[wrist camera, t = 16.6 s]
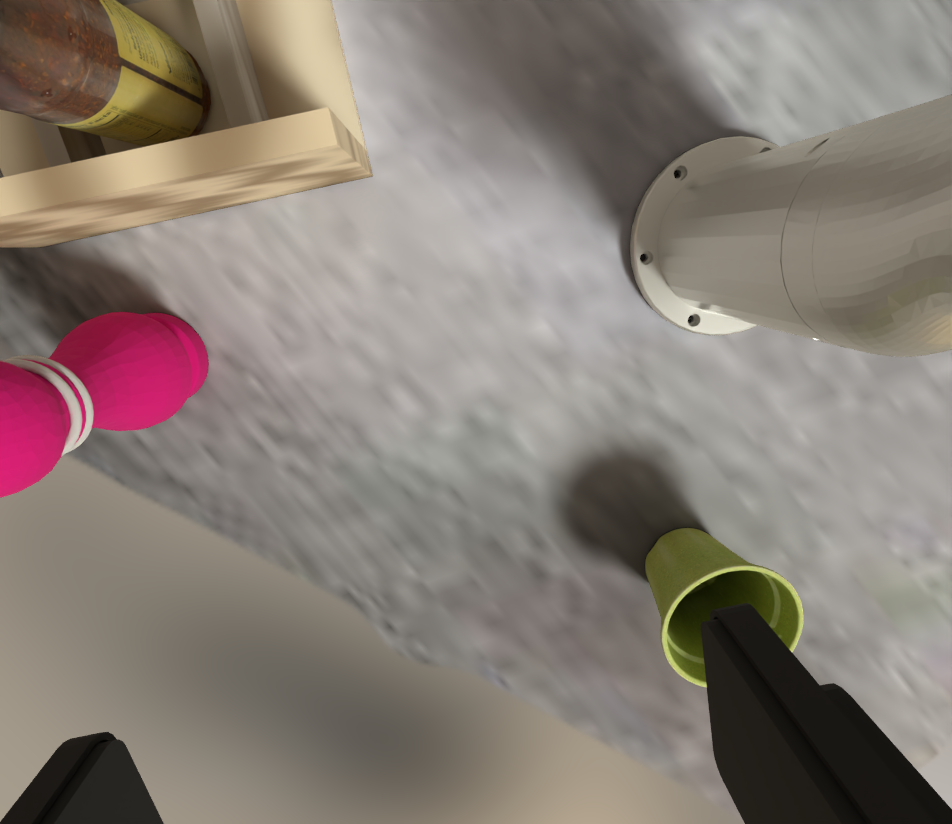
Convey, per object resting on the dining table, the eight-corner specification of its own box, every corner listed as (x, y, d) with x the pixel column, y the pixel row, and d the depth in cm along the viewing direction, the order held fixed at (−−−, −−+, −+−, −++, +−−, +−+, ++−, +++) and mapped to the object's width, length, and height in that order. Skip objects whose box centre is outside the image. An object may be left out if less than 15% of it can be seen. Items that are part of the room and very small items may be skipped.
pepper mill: (95, 311, 38) (-265, 377, 19) (202, 299, 38) (-47, 353, 19) (125, 413, 40) (-172, 567, 21) (227, 402, 40) (24, 544, 21)
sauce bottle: (113, 22, 33) (-353, -285, 14) (223, 55, 34) (-76, -195, 14) (104, 142, 35) (-322, 15, 15) (208, 171, 35) (-76, 84, 16)
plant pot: (611, 526, 44) (649, 591, 36) (729, 492, 44) (794, 549, 36) (636, 623, 47) (677, 704, 39) (747, 592, 47) (812, 667, 38)
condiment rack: (316, -62, 33) (244, -228, 21) (373, 176, 36) (337, 144, 25) (-52, 19, 33) (-319, -101, 22) (41, 247, 37) (-145, 248, 25)
